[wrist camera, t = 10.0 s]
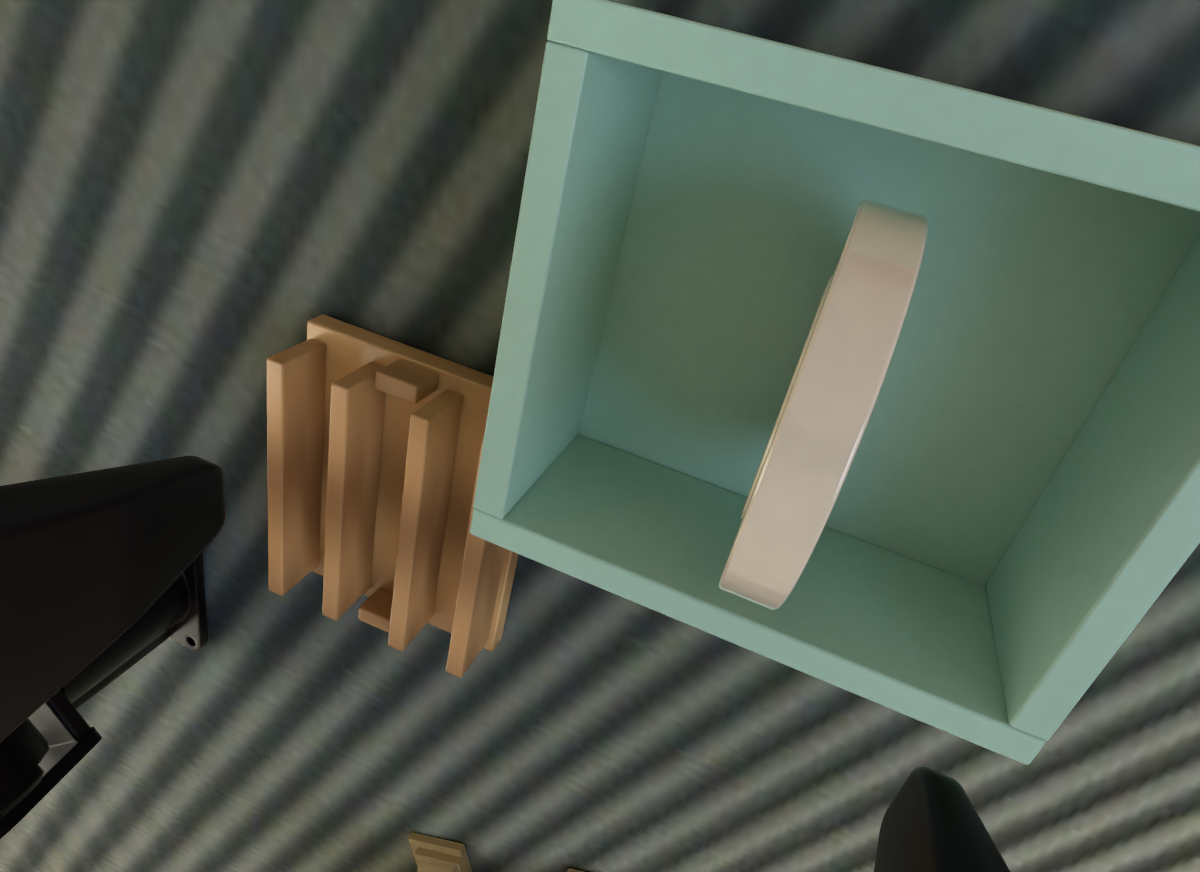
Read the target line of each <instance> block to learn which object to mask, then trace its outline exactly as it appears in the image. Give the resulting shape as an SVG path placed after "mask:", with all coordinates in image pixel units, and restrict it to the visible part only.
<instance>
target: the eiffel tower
mask: <svg viewBox="0 0 1200 872" xmlns="http://www.w3.org/2000/svg"><path fill="white" fill-rule="evenodd" d="M408 840H409V843H410V846H411V849H412V852H413V855H414V857H415V860H416V863H417V866H418V869H417V872H472V869H471V865H470V862H469V859H468V856H467V853H466V849H465V846H464V844H461V843H457V842H452V841H448V840H444V839H439V838H435V837H430V836H426V835H422V834H417V833H413V832H412V833H411V834H410V836H409V837H408ZM567 872H584V871H579V870H575V869H571V868H569V869H568V871H567Z"/></svg>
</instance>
